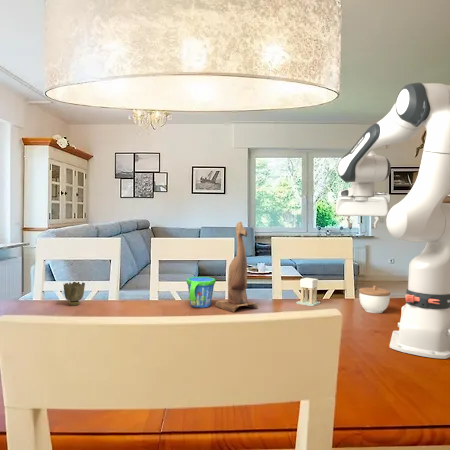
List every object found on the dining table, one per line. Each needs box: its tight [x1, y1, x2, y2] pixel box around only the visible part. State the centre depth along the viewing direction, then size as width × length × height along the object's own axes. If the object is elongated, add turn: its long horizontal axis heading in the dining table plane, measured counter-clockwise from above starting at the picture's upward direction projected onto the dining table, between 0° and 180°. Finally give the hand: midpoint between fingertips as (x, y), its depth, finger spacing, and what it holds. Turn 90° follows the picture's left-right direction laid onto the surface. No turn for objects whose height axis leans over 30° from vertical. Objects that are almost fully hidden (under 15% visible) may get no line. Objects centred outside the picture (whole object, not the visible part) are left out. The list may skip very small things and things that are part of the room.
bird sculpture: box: [215, 221, 259, 314], centre depth 155 cm, size 11×12×32 cm
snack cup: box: [185, 276, 216, 309], centre depth 158 cm, size 16×10×10 cm
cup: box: [63, 281, 86, 307], centre depth 155 cm, size 8×7×8 cm
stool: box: [299, 277, 319, 304], centre depth 166 cm, size 5×5×9 cm
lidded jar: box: [358, 285, 391, 314], centre depth 155 cm, size 11×11×9 cm
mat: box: [295, 298, 321, 307], centre depth 166 cm, size 7×7×1 cm
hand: (361, 228), depth 164 cm, fingers open, 8 cm apart
